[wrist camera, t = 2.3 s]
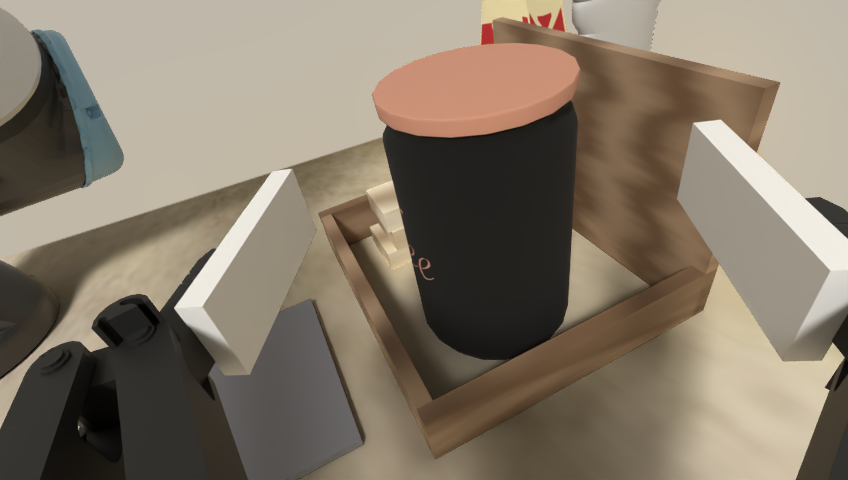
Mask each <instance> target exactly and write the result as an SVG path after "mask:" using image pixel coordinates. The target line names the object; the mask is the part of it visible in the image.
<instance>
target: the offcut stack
mask: <svg viewBox="0 0 848 480" xmlns="http://www.w3.org/2000/svg"><path fill="white" fill-rule="evenodd" d="M366 193H367V196H368V200H369V203H370V207H371V209H372V211H373V212H374V213H375V215H376V218H377V221H378V224H375V225H373V226H370V230H371V233H372V237H373V240H374V242H375V244H376V245H377V247H378V248H379V250H380V252H381V253H382V255H383V256H384V258H385V259H386V261H387V262H388V264H389V266H390V267H391V269H392V270H393V269H396V268H398V267H400V266H403V265H405V264H407V263H409V262H412V259H411V255H410V251H409V247H408V243H407V238H406V234H405V230H404V226H403V222H402V218H401V214H400V209H399V205H398V201H397V197H396V193H395V189H394V185H393V180H392V181H389V182H387V183H384V184H381V185H379V186H376V187H373V188H371V189H368V190H366Z"/></svg>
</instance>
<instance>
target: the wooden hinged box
mask: <svg viewBox="0 0 848 480" xmlns="http://www.w3.org/2000/svg"><path fill="white" fill-rule="evenodd" d="M492 21H493V37H494V44H502V43H523V44H537V45H543V46H547V47H551V48H556V49H560V50H562V51H564V52H566V53H568V54H569V55H571V56H573V57H575V59H576V61H577V63H578V65H579V68H580V71H581V72H580V79H579V85H578V87H577V89H576V91H575V93H574V95H573V97H572V99H571V101H572V103H573V106H574V109H575V112H576V114H577V119H578V132H577V150H576V167H575V185H574V203H573V220H572V228H573V229H574V230H576V231H577V232H578V233H580V234H581V235H582V236H584V237H585V238H586V239H588V240H589V241H591V242H592V243H593V244H595V245H596V246H597V247H599V248H600V249H601V250H603V251H604V252H606V253H607V254H608V255H610V256H611V257H612V258H614V259H615V260H616V261H618V262H619V263H621V264H622V265H623V266H625V267H626V268H627V269H629V270H630V271H631V272H633V273H634V274H636V275H637V276H638V277H640V278H641V279H642V280H644V281H645V282H646V283H648V284H649V285H650V286H652V287H650V288H648V289H646V290H644V291H642V292H640V293H639V294H637V295H635V296H633V297H631V298H629V299H627V300H625V301H623V302H621V303H619V304H617V305H616V306H614V307H612V308H610V309H608V310H606V311H604V312H602V313H600V314H598V315H596V316H594V317H592V318H591V319H589V320H587V321H585V322H583V323H581V324H579V325H577V326H575V327H573V328H571V329H569V330H567V331H566V332H564V333H562V334H560V335H558V336H556V337H554V338H552V339H550V340H548V341H546V342H544V343H543V344H541V345H539V346H537V347H535V348H533V349H531V350H529V351H527V352H525V353H523V354H521V355H519V356H518V357H516V358H514V359H512V360H510V361H508V362H506V363H504V364H502V365H500V366H498V367H496V368H494V369H493V370H491V371H489V372H487V373H485V374H483V375H481V376H479V377H477V378H475V379H473V380H471V381H470V382H468V383H466V384H464V385H462V386H460V387H458V388H456V389H454V390H452V391H450V392H448V393H446V394H445V395H443V396H441V397H439V398H437V399H435V400H432V398H431V396H430V394H429V393H428V391H427V389H426V387H425V385H424V383H423V382H422V380H421V378H420V376H419V374H418V372H417V371H416V369H415V367H414V365H413V363H412V361H411V360H410V358H409V356H408V354H407V352H406V350H405V349H404V347H403V345H402V343H401V341H400V339H399V338H398V336H397V334H396V332H395V330H394V328H393V327H392V325H391V323H390V321H389V319H388V317H387V316H386V314H385V312H384V310H383V308H382V306H381V305H380V303H379V301H378V299H377V297H376V295H375V294H374V292H373V290H372V288H371V286H370V284H369V283H368V281H367V279H366V277H365V275H364V273H363V272H362V270H361V268H360V266H359V264H358V262H357V261H356V259H355V257H354V255H353V253H352V251H351V250H350V248H349V246H348V245H349V244H351V243H354V242H356V241H359V240H361V239H364V238H366V237H369V236H371V235H372V233H371V230H370V226H373V225H375V224H378V221H377V218H376V215H375V213H374V212H373V211H372V209H371V207H370V203H369V200H368V196H367V195H364V196H361V197H359V198H356V199H354V200H351V201H348V202H346V203H343V204H340V205H338V206H335V207H333V208H330V209H327V210H325V211H322V212H319V216H320V219H321V221H322V224H323V226H324V229H325V232H326V234H327V237H328V239H329V242H330V245H331V247H332V249H333V251H334V253H335V255H336V257H337V259H338V261H339V263H340V265H341V267H342V269H343V271H344V274H345V276H346V278H347V280H348V282H349V284H350V286H351V288H352V290H353V292H354V294H355V296H356V298H357V300H358V302H359V304H360V306H361V308H362V310H363V312H364V314H365V317H366V319H367V321H368V323H369V325H370V327H371V329H372V331H373V333H374V335H375V337H376V339H377V341H378V343H379V345H380V347H381V349H382V351H383V353H384V355H385V358H386V360H387V362H388V364H389V366H390V368H391V370H392V372H393V374H394V376H395V378H396V380H397V382H398V384H399V386H400V388H401V390H402V392H403V394H404V396H405V399H406V401H407V403H408V405H409V407H410V409H411V411H412V413H413V415H414V417H415V419H416V421H417V423H418V425H419V427H420V429H421V431H422V433H423V435H424V437H425V439H426V442H427V444H428V446H429V448H430V450H431V452H432V454H433V456H434V458H435V459H437V458H439V457H441V456H442V455H444V454H446V453H448V452H450V451H451V450H453V449H455V448H457V447H459V446H460V445H462V444H464V443H466V442H468V441H469V440H471V439H473V438H475V437H477V436H478V435H480V434H482V433H484V432H486V431H487V430H489V429H491V428H493V427H494V426H496V425H498V424H500V423H502V422H503V421H505V420H507V419H509V418H511V417H512V416H514V415H516V414H518V413H520V412H521V411H523V410H525V409H527V408H529V407H530V406H532V405H534V404H536V403H538V402H539V401H541V400H543V399H545V398H547V397H548V396H550V395H552V394H554V393H556V392H557V391H559V390H561V389H563V388H565V387H566V386H568V385H570V384H572V383H573V382H575V381H577V380H579V379H581V378H582V377H584V376H586V375H588V374H590V373H591V372H593V371H595V370H597V369H599V368H600V367H602V366H604V365H606V364H608V363H609V362H611V361H613V360H615V359H617V358H618V357H620V356H622V355H624V354H626V353H627V352H629V351H631V350H633V349H635V348H636V347H638V346H640V345H642V344H643V343H645V342H647V341H649V340H651V339H652V338H654V337H656V336H658V335H660V334H661V333H663V332H665V331H667V330H669V329H670V328H672V327H674V326H676V325H678V324H679V323H681V322H683V321H685V320H687V319H688V318H690V317H692V316H694V315H696V314H697V313H699V312H701V311H703V309H704V306H705V303H706V300H707V297H708V295H709V292H710V289H711V286H712V283H713V280H714V277H715V274H716V271H717V268H718V265H719V263H718V261H717V259H716V258H715V256H714V255H713V253H712V252H711V250H710V249H709V247H708V246H707V244H706V243H705V241H704V240H703V238H702V236H701V235H700V233H699V232H698V230H697V229H696V227H695V226H694V224H693V223H692V221H691V220H690V218H689V216H688V215H687V213H686V212H685V210H684V209H683V207H682V206H681V204H680V203H679V201H678V200H677V196H678V191H679V187H680V182H681V177H682V172H683V168H684V163H685V158H686V154H687V149H688V144H689V140H690V135H691V130H692V125H693V123H696V122H705V121H714V120H722V121H723V122H724V123H725V124H726V125H727V126H728V127H729V128H730V129H731V130H732V131H733V132H734V133H736V134H737V135H738V136H739V137H740V138H741V139H742V140H743V141H744V142H745V143H746V144H747V145H748V146H749V147H750V148H751V149H753V150H754V151H755V152H756V153H757V150H758V147H759V144H760V141H761V138H762V135H763V132H764V129H765V126H766V123H767V120H768V117H769V114H770V111H771V109H772V106H773V103H774V100H775V97H776V94H777V90H778V88H779V85H780V82H776V81H772V80H768V79H764V78H760V77H755V76H751V75H746V74H743V73H738V72H734V71H730V70H726V69H721V68H716V67H712V66H708V65H704V64H700V63H696V62H691V61H687V60H683V59H678V58H674V57H670V56H665V55H662V54H657V53H653V52H649V51H645V50H640V49H636V48H632V47H627V46H623V45H619V44H615V43H610V42H606V41H602V40H598V39H593V38H589V37H585V36H581V35H576V34H572V33H568V32H564V31H559V30H555V29H551V28H546V27H542V26H538V25H534V24H529V23H525V22H521V21H517V20H512V19H508V18H504V17H501V18H497V19H494V20H492Z"/></svg>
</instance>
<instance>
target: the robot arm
mask: <svg viewBox="0 0 848 480" xmlns="http://www.w3.org/2000/svg"><path fill="white" fill-rule="evenodd" d="M123 161H124V155H123V152H122V149H121V147H120V145H119V143H118V141H117V139H116V137H115V135H114V134H113V132H112V130H111V128H110V126H109V124H108V122H107V120H106V118H105V116H104V114H103V112H102V110H101V108H100V106H99V104H98V102H97V100H96V98H95V96H94V94H93V92H92V90H91V89H90V87H89V84H88V82H87V80H86V79H85V77H84V75H83V73H82V71H81V69H80V67H79V65H78V63H77V61H76V59H75V57H74V55H73V53H72V51H71V50H70V48H69V46H68V44H67V42H66V40H65V38H64V37H63V36H62V35H61V34H60V33H58V32H56V31H53V30H48V31H42V30H32V31H31V32H29V31H28V30H27V28H25V27H24V25H23V24H22V23H20V22H19V21H18V20H17V19H16V18H15V17H14V16H12V15H11V14H10V13H8V12H7V11H5V10H3V9H1V8H0V216H3V215H5V214H8V213H11V212H13V211H16V210H19V209H22V208H24V207H27V206H30V205H33V204H35V203H38V202H41V201H44V200H47V199H49V198H52V197H55V196H58V195H61V194H63V193H67V192H69V191H72V190H74V189H78V188H84V187H88V186H89V185H90V184H91V183H92V182H93V181H96V180H98V179H101V178H103V177H105V176H108V175H110V174H112V173H114V172H116V171H117V170H119V169H120V168H121V166H122V164H123ZM677 200H678V201H679V203H680V204H681V206H682V207H683V209H684V210H685V212H686V213H687V215H688V216H689V218H690V220H691V221H692V223H693V224H694V226H695V227H696V229H697V230H698V232H699V233H700V235H701V236H702V238H703V240H704V241H705V243H706V244H707V246H708V247H709V249H710V250H711V252H712V253H713V255H714V256H715V258H716V259H717V261H718V263H719V264H720V266H721V267H722V269H723V270H724V272H725V273H726V275H727V276H728V278H729V279H730V281H731V283H732V284H733V286H734V287H735V289H736V290H737V292H738V293H739V295H740V296H741V298H742V299H743V301H744V303H745V304H746V306H747V307H748V309H749V310H750V312H751V313H752V315H753V316H754V318H755V319H756V321H757V323H758V324H759V326H760V327H761V329H762V330H763V332H764V333H765V335H766V336H767V338H768V339H769V341H770V343H771V344H772V346H773V347H774V349H775V350H776V352H777V353H778V355H779V356H780V358H781V359H782V361H816V360H822V359H823V358H824V356H825V354H826V353H827V351H828V349H829V348H830V346H831V345H832V343H834V344H835V346H836V347H837V348H838V349H839V351H840V352H841V353H842V354H843V356H844V357H845V358H844V359H843V361H842V362H841V364H840V365H839V367H838V368H837V370H836V371H835V373H834V375H833V376H832V378H831V379H830V381H829V382H828V384H827V385H826V387H825V388H826V389H829V390H830V391H829V393H828V396H827V399H826V401H825V404H824V407H823V409H822V412H821V414H820V417H819V420H818V422H817V425H816V428H815V430H814V433H813V436H812V438H811V441H810V444H809V446H808V449H807V451H806V454H805V457H804V459H803V462H802V465H801V467H800V470H799V473H798V475H797V478H796V480H848V212H847V211H846V210H845V209H843V208H841V207H839V206H837V205H835V204H833V203H831V202H829V201H827V200H825V199H823V198H820V197H815V198H803V197H802V196H801V195H800V194H799V193H798V192H797V191H796V190H795V189H794V188H793V187H792V186H791V185H790V184H789V183H787V181H785V180H784V179H783V178H782V177H781V176H780V175H779V174H778V173H777V172H776V171H775V170H774V169H773V168H772V167H771V166H770V165H768V164H767V163H766V162H765V161H764V160H763V159H762V158H761V157H760V156H759V155H758V154H757V153H756V152H755V151H754V150H753V149H751V148H750V147H749V146H748V145H747V144H746V143H745V142H744V141H743V140H742V139H741V138H740V137H739V136H738V135H737V134H736V133H734V132H733V131H732V130H731V129H730V128H729V127H728V126H727V125H726V124H725V123H724V122H723V121H722V120H714V121H705V122H696V123H693V125H692V130H691V135H690V140H689V144H688V149H687V154H686V158H685V163H684V168H683V172H682V177H681V182H680V187H679V191H678V196H677ZM316 231H317V229H316V227H315V224H314V222H313V219H312V217H311V214H310V212H309V209H308V207H307V204H306V202H305V199H304V197H303V194H302V192H301V189H300V187H299V184H298V182H297V179H296V177H295V174H294V172H293V169H286V170H278V171H272V172H271V174H270V175H269V177H268V178H267V179H266V181H265V182H264V184H263V185H262V186H261V188H260V189H259V191H258V192H257V193H256V195H255V196H254V198H253V199H252V200H251V202H250V203H249V205H248V206H247V207H246V209H245V210H244V211H243V213H242V214H241V216H240V217H239V218H238V220H237V221H236V223H235V224H234V225H233V227H232V228H231V230H230V231H229V232H228V234H227V235H226V237H225V238H224V239H223V241H222V242H221V243H220V245H219V246H218V248H215V249H211V250H210V251H209V252H208V253H207V254H205V255H204V256H203V257H202V258H200V259H199V260H198V261H197V263H196V264H195V265H194V267H193V268H192V269H191V271H190V274H188V275H187V276H186V277H185V279H184V280H183V281H182V284H180V285H179V287H178V288H177V290H176V291H175V292H174V294H173V295H172V296H171V298H170V299H169V300H168V302H167V303H166V304H165V306H164V307H163V308H162V310H161V311H160V312H159V311H158V310H157V308H156V307H155V306H154V305H153V303H152V302H151V301H150V300H149V298H148V297H147V296H146V295H142V294H136V295H130V296H127V297H125V298H122V299H119V300H118V301H116V302H114V303H113V304H111V305H109V306H108V307H107V308H105V309H104V310H103V311H102V312H101V313H100V314H99V315H98V316H97V317H96V319H95V320H94V322H93V325H92V329H93V330H94V331H95V332H96V334H97V335H98V336H99V337H100V338H101V339H102V340H103V341H104V342H105V343H106V344H107V345H108V346H109V347H106V348H103V349H99V350H96V351H93V352H90V351H89V350H88V349H87V348H86V347H85V346H84V345H83V344H82V343H81V342H77V341H71V342H67V343H63V344H60V345H58V346H56V347H54V348H51V349H50V350H48V351H47V352H45V353H44V354H42V355H41V356H40V357H39V358H38V359H37V360H36V361H35V362H34V363H33V364H32V365H31V366H30V368H29V369H28V371H27V372H26V374H25V376H24V378H23V381H22V383H21V385H20V387H19V389H18V392H17V394H16V396H15V398H14V400H13V403H12V405H11V407H10V409H9V411H8V413H7V416H6V418H5V420H4V422H3V424H2V427H1V429H0V480H248V478H247V475H246V472H245V469H244V466H243V463H242V461H241V458H240V455H239V452H238V449H237V446H236V443H235V440H234V437H233V435H232V432H231V429H230V426H229V423H228V420H227V417H226V414H225V411H224V409H223V406H222V403H221V400H220V397H219V394H218V391H217V388H216V385H215V383H214V381H213V380H212V378H211V377H210V376H209V373H210V371H211V369H212V367H213V365H214V363H216V365H217V366H218V367H219V369H220V370H221V371H222V373H223V374H224V375H225V376H227V375H250V373H251V371H252V369H253V366H254V364H255V362H256V360H257V358H258V356H259V354H260V351H261V349H262V347H263V345H264V343H265V341H266V338H267V336H268V334H269V332H270V330H271V328H272V326H273V323H274V321H275V319H276V317H277V315H278V313H279V310H280V308H281V306H282V304H283V302H284V300H285V298H286V295H287V293H288V291H289V289H290V287H291V285H292V282H293V280H294V278H295V276H296V274H297V272H298V270H299V267H300V265H301V263H302V261H303V259H304V257H305V254H306V252H307V250H308V248H309V246H310V244H311V242H312V239H313V237H314V235H315V233H316ZM58 311H59V301H58V298H57V297H56V296H55V294H54V293H53V292H52V291H51V290H50V289H49V288H48V287H47V286H46V285H45V284H44V283H43V282H41V281H40V280H39V279H37V278H35V277H33V276H32V275H28V274H26V273H24V272H23V271H21V270H19V269H17V268H15V267H13V266H11V265H9V264H7V263H5V262H3V261H1V260H0V377H1V376H2V375H4V374H5V373H6V372H8V371H9V370H10V369H12V368H13V367H14V366H15V365H16V364H18V363H19V362H20V361H21V360H22V359H23V358H24V357H26V356H27V355H28V354H29V353H30V352H31V351H32V350H33V349H34V348H35V347H36V346H37V345H38V343H39V342H40V341H41V340H42V339H43V338H44V336H45V335H46V334H47V332H48V331H49V330H50V328H51V327H52V325H53V323H54V321H55V319H56V317H57V314H58ZM78 425H79V426H80V428H79V430H78Z"/></svg>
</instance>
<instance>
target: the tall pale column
mask: <svg viewBox="0 0 848 480" xmlns="http://www.w3.org/2000/svg"><path fill="white" fill-rule="evenodd" d="M660 1H661V0H573V2H572V21H573V24H574V26H575V28H576V29H577V31H578V35H581V36H585V37H589V38H593V39H598V40H602V41H606V42H610V43H615V44H619V45H623V46H627V47H632V48H636V49H640V50H645V51H649V52H651V51H650V49H651V44H652V42H651V41H652V40H653V39H652V37H653V35H654V34H653V30H654V25H655V23H656V21H655V19H656V17H657V13H658V11H657V10H656V9H657V7H658V5H659V3H660Z"/></svg>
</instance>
